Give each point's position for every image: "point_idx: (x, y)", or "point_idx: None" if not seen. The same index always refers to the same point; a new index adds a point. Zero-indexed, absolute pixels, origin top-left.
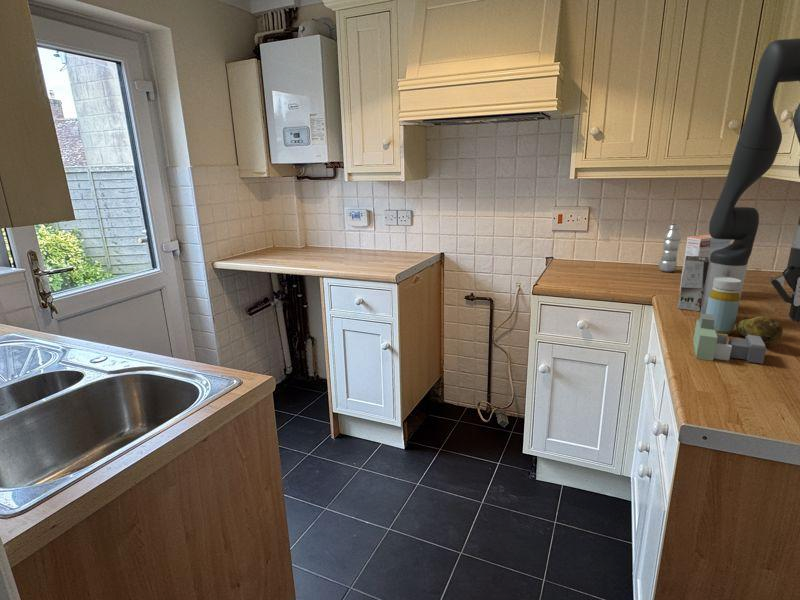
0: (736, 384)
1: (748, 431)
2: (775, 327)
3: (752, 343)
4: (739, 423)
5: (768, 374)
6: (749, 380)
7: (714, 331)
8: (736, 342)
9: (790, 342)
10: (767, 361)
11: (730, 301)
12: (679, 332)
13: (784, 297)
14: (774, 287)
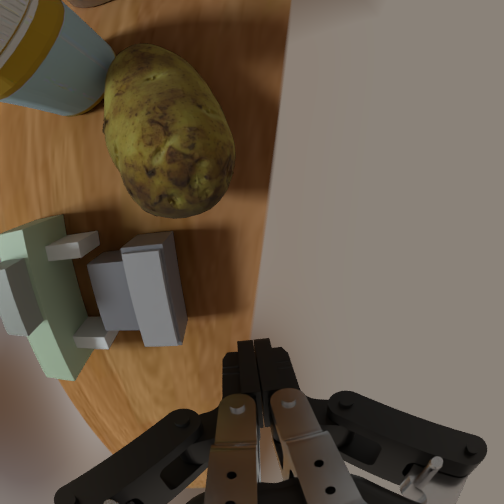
0: (158, 420)
1: (191, 486)
2: (199, 207)
3: (145, 339)
4: None
5: (201, 365)
6: (172, 402)
7: (51, 335)
8: (109, 304)
9: (276, 64)
10: (198, 284)
11: (22, 86)
12: (10, 167)
13: (178, 467)
14: (100, 471)
